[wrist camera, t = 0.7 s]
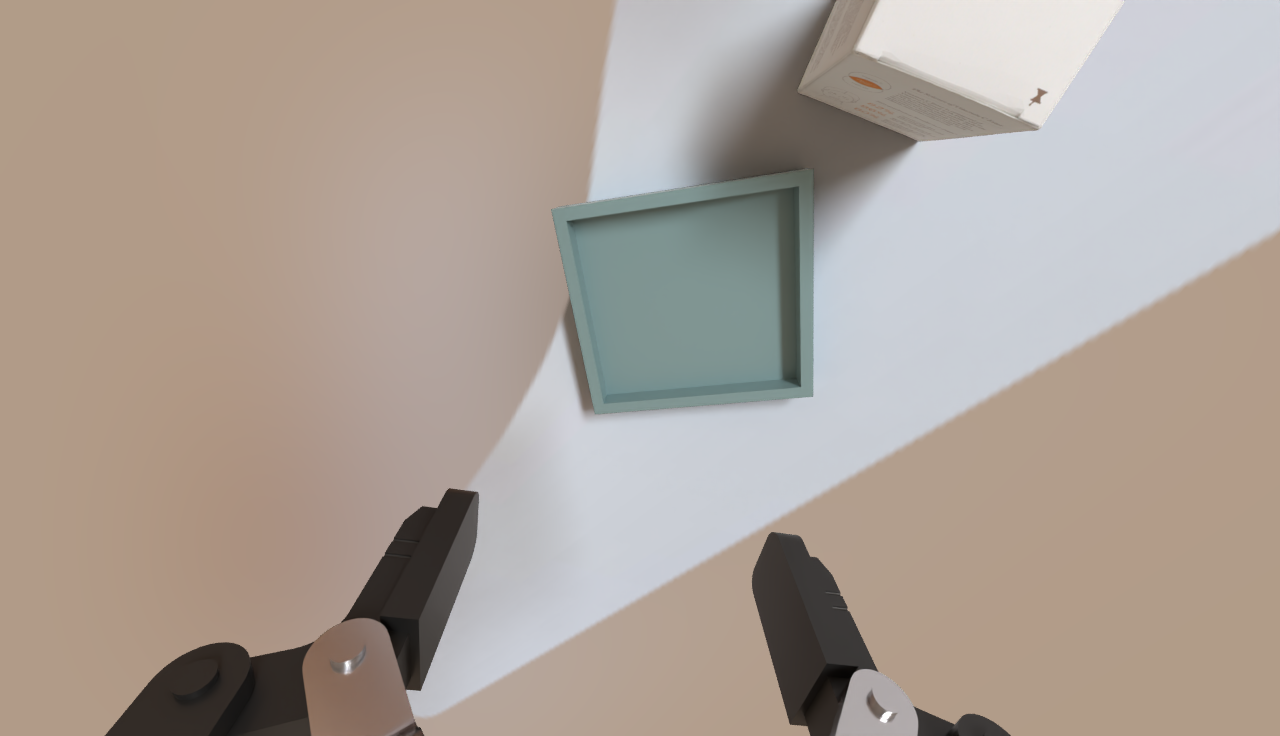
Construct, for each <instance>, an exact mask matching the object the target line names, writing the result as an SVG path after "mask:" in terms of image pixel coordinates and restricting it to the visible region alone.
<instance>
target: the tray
mask: <svg viewBox="0 0 1280 736" xmlns="http://www.w3.org/2000/svg"><path fill="white" fill-rule="evenodd" d="M551 211H552V216H553V220H554V225H555V229H556V234H557V239H558V243H559V248H560V253H561V257H562V262H563V267H564V271H565V276H566V281H567V286H568V290H569V295H570V300H571V304H572V309H573V314H574V318H575V323H576V328H577V332H578V337H579V342H580V346H581V351H582V356H583V360H584V365H585V370H586V374H587V379H588V384H589V389H590V393H591V398H592V403H593V407H594V412H595V414H605V413H617V412H629V411H642V410H654V409H666V408H679V407H691V406H703V405H716V404H728V403H740V402H753V401H765V400H777V399H789V398H802V397H813V246H814V169H800V170H794V171H787V172H781V173H774V174H768V175H761V176H755V177H748V178H742V179H735V180H729V181H722V182H716V183H710V184H703V185H697V186H690V187H684V188H677V189H671V190H664V191H658V192H651V193H645V194H639V195H632V196H626V197H619V198H613V199H606V200H600V201H593V202H587V203H580V204H574V205H568V206H561V207H557V208H554V209H551Z"/></svg>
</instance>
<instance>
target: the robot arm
mask: <svg viewBox="0 0 1280 736" xmlns="http://www.w3.org/2000/svg"><path fill="white" fill-rule="evenodd" d="M478 504H479V494H478V492H473V491H465V490H457V489H450V488H449V489H448V490H447V491H446V493H445V495H444V497H443V498H442V500H441V502H440V504H439V506H438V508H431V507H423V506H422V507H421V508H420V509H418V510H417V511H416V512H415V513H413V514H412V515H411V516H410V517H409V518H407V519H406V520H405V521H404V522H403V524H402V526H401V527H400V529H399V531H398V532H397V534H396V536H395V537H394V540H393V542H391V544H390V546H389V547H388V549H387V550H386V552H385V556H384V557H382V559H381V560H380V562H379V564H378V565H377V567H376V569H375V570H374V572H373V574H372V576H371V577H370V579H369V580H368V582H367V584H366V585H365V587H364V589H363V590H362V592H361V594H360V595H359V597H358V599H357V600H356V602H355V603H354V605H353V607H352V609H351V610H350V612H349V613H348V615H347V616H346V618H345V619H344V620H343V621H342V622H341V623H340V624H337V625H335V626H333V627H332V628H330V629H329V630H327V631H326V632H325V633H324V634H322V635H321V636H320V637H319V638H318V639H317V640H316V641H315V642H312V643H310V644H308V645H305V646H302V647H298V648H295V649H290V650H285V651H280V652H276V653H270V654H265V655H260V656H255V657H249V655H248V652H247V651H246V650H245V649H244V648H243V647H242V646H240V645H237V644H234V643H215V644H209V645H206V646H202V647H199V648H197V649H195V650H192V651H190V652H188V653H186V654H184V655H182V656H180V657H179V658H177V659H175V660H174V661H172V662H171V663H170V664H168V665H167V666H166V667H164V668H163V669H162V670H161V671H160V672H159V673H158V674H157V675H156V676H155V677H154V678H153V679H152V680H151V681H150V682H149V683H148V685H147V686H146V687H145V688H144V689H143V691H142V692H141V693H140V694H139V695H138V697H137V698H136V699H135V700H134V701H133V703H132V704H131V705H130V706H129V707H128V709H127V710H126V711H125V712H124V713H123V715H122V716H121V717H120V718H119V720H118V721H117V722H116V723H115V724H114V726H113V727H112V728H111V729H110V730H109V731H108V733H107V734H106V735H105V736H424V734H423V732H422V730H421V728H420V727H417V725H416V722H415V720H414V717H413V713H412V710H411V707H410V703H409V700H408V697H407V693H406V689H407V690H418V691H421V688H422V686H423V683H424V681H425V678H426V675H427V673H428V670H429V668H430V665H431V662H432V660H433V657H434V655H435V652H436V649H437V647H438V644H439V642H440V639H441V636H442V634H443V631H444V629H445V626H446V623H447V621H448V618H449V616H450V613H451V610H452V608H453V605H454V603H455V600H456V597H457V595H458V592H459V590H460V587H461V584H462V582H463V579H464V577H465V574H466V571H467V569H468V566H469V564H470V561H471V558H472V555H473V552H474V548H475V543H476V537H477V523H478ZM752 577H753V578H752V589H753V594H754V598H755V601H756V605H757V608H758V612H759V616H760V619H761V623H762V626H763V630H764V633H765V637H766V640H767V644H768V648H769V651H770V655H771V659H772V662H773V665H774V669H775V673H776V676H777V680H778V683H779V687H780V690H781V694H782V698H783V701H784V704H785V708H786V712H787V716H788V719H789V723H790V725H801V726H808V729H809V732H810V736H1010V735H1009V734H1008V733H1007V732H1006V731H1005V730H1004V729H1002V728H1001V727H1000V726H999V725H997V724H996V723H994V722H993V721H991V720H989V719H987V718H985V717H983V716H980V715H976V714H966V715H964V716H962V717H961V718H960V719H959V721H958V722H957V723H956V724H955V725H954V724H952V723H950V722H948V721H945V720H943V719H941V718H938V717H936V716H934V715H931V714H929V713H927V712H925V711H922V710H920V709H918V708H916V707H914V706H913V704H912V703H911V701H910V699H909V698H908V696H907V695H906V694H905V693H904V691H903V690H902V689H901V688H900V687H899V686H898V685H897V684H896V683H895V682H894V681H892V680H891V679H889V678H888V677H887V676H885V675H883V674H881V673H879V672H878V670H877V668H876V666H875V664H874V662H873V660H872V658H871V656H870V654H869V651H868V649H867V647H866V645H865V643H864V641H863V639H862V637H861V635H860V633H859V631H858V628H857V626H856V624H855V622H854V620H853V618H852V616H851V614H850V612H849V611H848V610H847V605H846V603H845V601H844V599H843V597H842V596H840V591H839V589H838V587H837V584H836V582H835V580H834V578H833V576H832V574H831V573H830V572H829V571H828V570H827V568H826V567H825V566H824V565H823V564H822V563H821V562H820V560H819V559H818V558H816V557H810V556H809V553H808V551H807V549H806V547H805V545H804V542H803V540H802V539H801V537H800V536H798V535H790V534H783V533H775V532H772V533H770V534H769V535H768V537H767V540H766V542H765V544H764V547H763V549H762V552H761V554H760V556H759V559H758V561H757V564H756V566H755V568H754V571H753V576H752Z"/></svg>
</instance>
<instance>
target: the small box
mask: <svg viewBox="0 0 1280 736" xmlns="http://www.w3.org/2000/svg"><path fill="white" fill-rule="evenodd" d="M1124 2H1125V0H836V2H835V4H834V7H833V9H832V11H831V13H830V16H829V18H828V20H827V23H826V25H825V27H824V30H823V32H822V34H821V36H820V39H819V41H818V43H817V46H816V48H815V50H814V52H813V55H812V57H811V59H810V62H809V64H808V66H807V68H806V71H805V73H804V76H803V78H802V80H801V83H800V85H799V87H798V93H800V94H803V95H806V96H808V97H811V98H813V99H816V100H818V101H821V102H823V103H826V104H828V105H831V106H833V107H836V108H838V109H841V110H843V111H846V112H848V113H851V114H853V115H856V116H858V117H861V118H863V119H865V120H868V121H870V122H873V123H875V124H878V125H880V126H883V127H885V128H888V129H891V130H893V131H895V132H898V133H900V134H903V135H905V136H908V137H910V138H912V139H915V140H917V141H932V140H944V139H953V138H965V137H973V136H984V135H993V134H1001V133H1012V132H1022V131H1035V130H1039V129H1040V128H1041V127H1042V125H1043V124H1044V122H1045V121H1046V119H1047V118H1048V116H1049V115H1050V113H1051V112H1052V110H1053V109H1054V107H1055V106H1056V104H1057V103H1058V101H1059V100H1060V99H1061V97H1062V96H1063V94H1064V92H1065V91H1066V89H1067V88H1068V86H1069V85H1070V83H1071V82H1072V80H1073V79H1074V77H1075V76H1076V74H1077V73H1078V71H1079V70H1080V68H1081V67H1082V65H1083V64H1084V62H1085V61H1086V59H1087V58H1088V56H1089V55H1090V53H1091V52H1092V50H1093V49H1094V47H1095V46H1096V44H1097V43H1098V41H1099V39H1100V38H1101V36H1102V35H1103V33H1104V32H1105V30H1106V29H1107V27H1108V26H1109V24H1110V23H1111V21H1112V20H1113V18H1114V17H1115V15H1116V14H1117V12H1118V11H1119V9H1120V8H1121V6H1122V5H1123V3H1124Z"/></svg>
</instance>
